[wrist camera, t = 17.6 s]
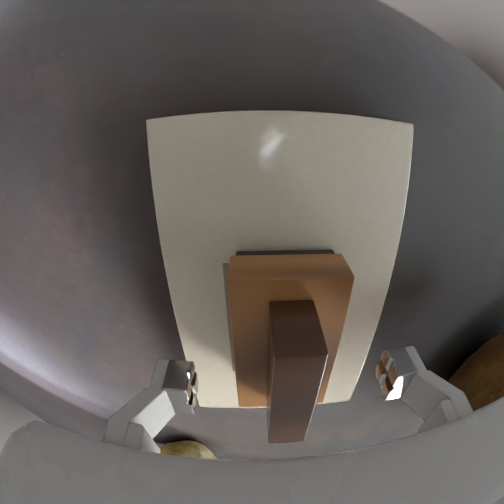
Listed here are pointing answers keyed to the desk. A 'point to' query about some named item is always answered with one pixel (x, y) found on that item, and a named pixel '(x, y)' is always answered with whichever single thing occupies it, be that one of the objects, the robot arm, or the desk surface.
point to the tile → (275, 219)
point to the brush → (286, 331)
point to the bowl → (482, 374)
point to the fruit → (187, 449)
